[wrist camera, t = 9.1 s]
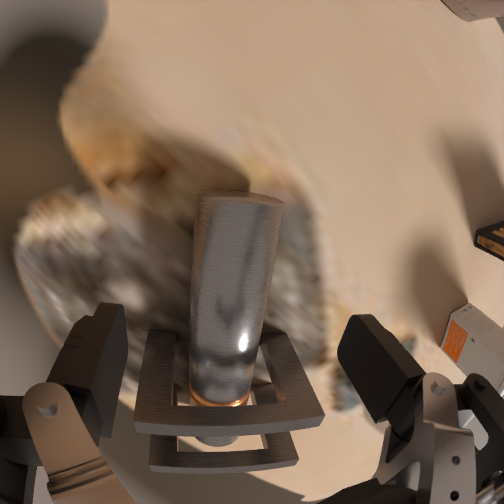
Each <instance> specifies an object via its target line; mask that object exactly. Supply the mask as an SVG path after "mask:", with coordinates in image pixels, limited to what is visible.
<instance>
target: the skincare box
mask: <svg viewBox="0 0 504 504" xmlns="http://www.w3.org/2000/svg"><path fill="white" fill-rule="evenodd" d="M440 349H441V350H442V351H443V352H444V353H445V354H446V355H447V356H448V357H449V358H450V359H451V360H452V361H453V362H454V363H455V364H456V365H457V367H458V368H459V369H460V370H461V371H462V372H463V373H464V374H465V375H466V376H467V377H468V375H469V374H471V373H477V374H480V375H482V376H483V377H485V378H486V379H487V380H488V381H489V382H490V384H491V385H492V386H493V387H494V388H495V390H496V391H497V392H498V393H499V394H500V396H501V397H502V396H503V395H504V330H503V329H502V328H501V327H500V326H499V325H497V324H496V323H495V322H494V321H492V320H491V319H490V318H489V317H487V316H486V315H485V314H484V313H482V312H481V311H480V310H479V309H477V308H476V307H475V306H473V305H472V304H471V303H468V304H466V305H465V306H463V307H461V308H460V309H458V310H456V311H454V312H453V313H451V315H450V320H449V323H448V326H447V330H446V333H445V336H444V339H443V342H442V344H441V347H440Z"/></svg>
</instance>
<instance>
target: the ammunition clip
mask: <svg viewBox="0 0 504 504" xmlns="http://www.w3.org/2000/svg"><path fill="white" fill-rule="evenodd" d="M475 247H477V248H479V249H481V250H483V251H485V252H487V253H489V254H491V255H493V256H495V257H497V258H499V259H501V260H502V261H504V221H501V222H499V223H496V224H493V225H490V226H488V227H485V228H482V229H479V230H476V238H475Z"/></svg>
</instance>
